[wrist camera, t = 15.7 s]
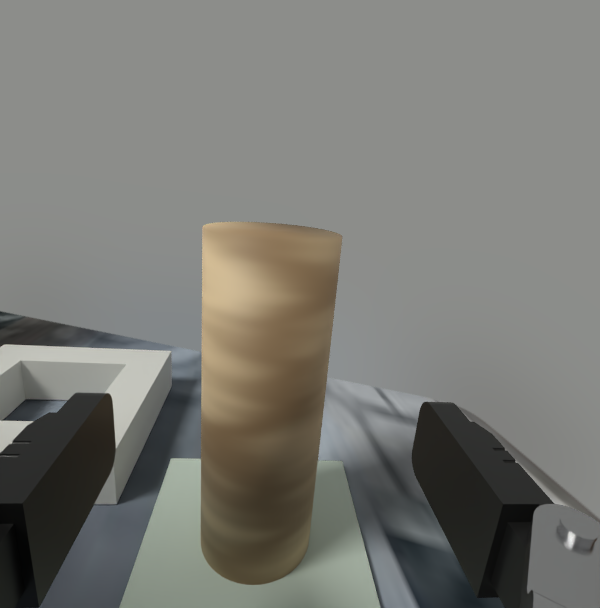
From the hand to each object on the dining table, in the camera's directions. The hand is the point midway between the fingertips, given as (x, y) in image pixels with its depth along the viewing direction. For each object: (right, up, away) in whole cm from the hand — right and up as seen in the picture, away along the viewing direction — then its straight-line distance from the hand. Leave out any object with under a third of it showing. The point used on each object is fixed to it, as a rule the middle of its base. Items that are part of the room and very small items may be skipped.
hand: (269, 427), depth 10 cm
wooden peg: (-1, -7, +8) cm, 11 cm away
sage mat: (-1, -8, +8) cm, 12 cm away
